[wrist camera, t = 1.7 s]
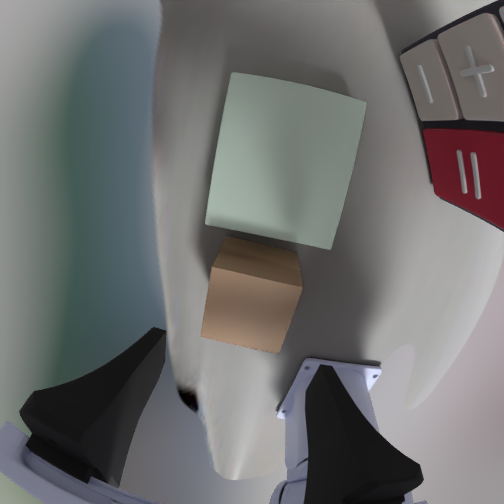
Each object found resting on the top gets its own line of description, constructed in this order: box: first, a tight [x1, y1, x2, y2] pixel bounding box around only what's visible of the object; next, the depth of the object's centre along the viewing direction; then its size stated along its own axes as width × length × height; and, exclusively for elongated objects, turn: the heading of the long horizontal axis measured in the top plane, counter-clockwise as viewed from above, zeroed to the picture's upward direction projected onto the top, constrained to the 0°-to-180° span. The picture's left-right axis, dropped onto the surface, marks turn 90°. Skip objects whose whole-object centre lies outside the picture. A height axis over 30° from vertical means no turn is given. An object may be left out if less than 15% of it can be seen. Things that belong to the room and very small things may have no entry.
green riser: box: [205, 72, 367, 250], centre depth 16 cm, size 9×8×3 cm
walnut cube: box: [201, 236, 303, 354], centre depth 18 cm, size 5×5×5 cm
